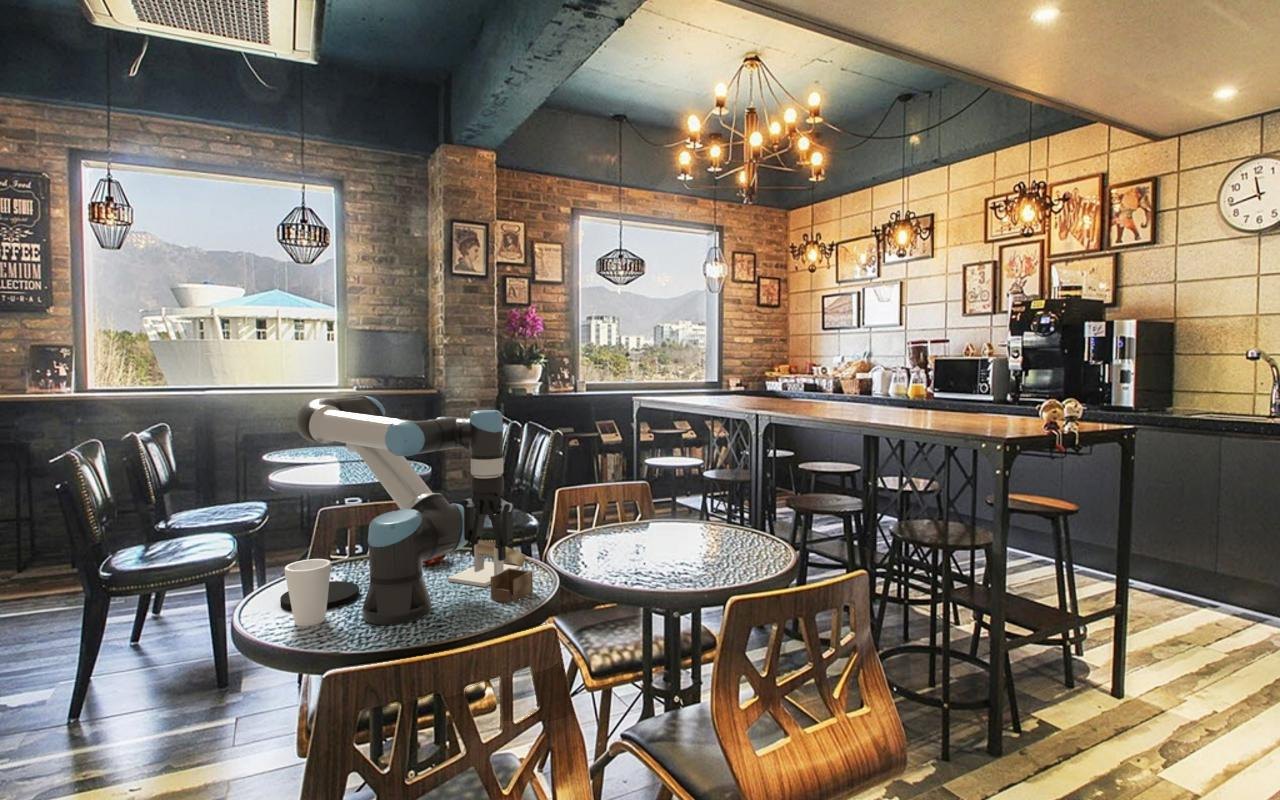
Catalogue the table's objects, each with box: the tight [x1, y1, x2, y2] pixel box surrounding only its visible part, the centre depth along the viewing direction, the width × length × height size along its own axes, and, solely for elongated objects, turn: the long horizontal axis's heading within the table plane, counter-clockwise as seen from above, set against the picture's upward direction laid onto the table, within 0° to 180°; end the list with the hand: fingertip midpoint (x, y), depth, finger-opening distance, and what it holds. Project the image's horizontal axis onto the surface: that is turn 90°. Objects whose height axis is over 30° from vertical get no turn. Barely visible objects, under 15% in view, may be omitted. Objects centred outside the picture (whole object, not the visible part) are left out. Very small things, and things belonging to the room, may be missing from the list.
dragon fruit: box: [422, 553, 448, 567], centre depth 199 cm, size 8×8×12 cm
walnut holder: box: [490, 568, 534, 604], centre depth 170 cm, size 9×7×6 cm
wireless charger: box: [279, 580, 360, 613], centre depth 170 cm, size 18×18×2 cm
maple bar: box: [476, 540, 527, 568], centre depth 167 cm, size 14×5×3 cm, turn 156°
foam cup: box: [284, 558, 332, 627], centre depth 155 cm, size 10×9×13 cm
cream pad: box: [447, 561, 521, 588], centre depth 187 cm, size 16×12×1 cm
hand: (489, 571), depth 162 cm, fingers closed on maple bar, 5 cm apart
